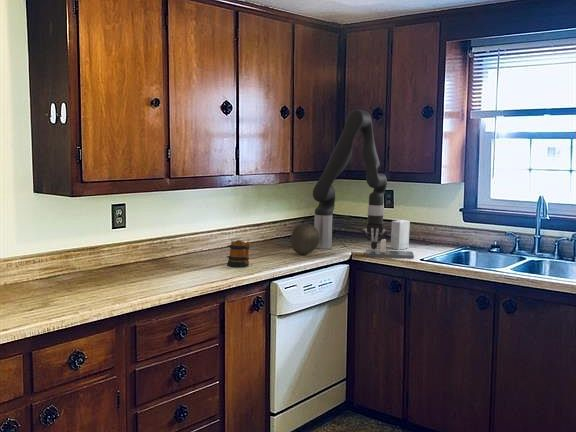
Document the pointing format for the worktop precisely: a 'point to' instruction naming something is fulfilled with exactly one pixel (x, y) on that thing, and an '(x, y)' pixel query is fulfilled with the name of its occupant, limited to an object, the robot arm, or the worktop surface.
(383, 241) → the fader
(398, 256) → the console
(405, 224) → the skincare box
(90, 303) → the worktop surface
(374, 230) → the robot arm
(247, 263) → the mug
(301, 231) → the cantaloupe
